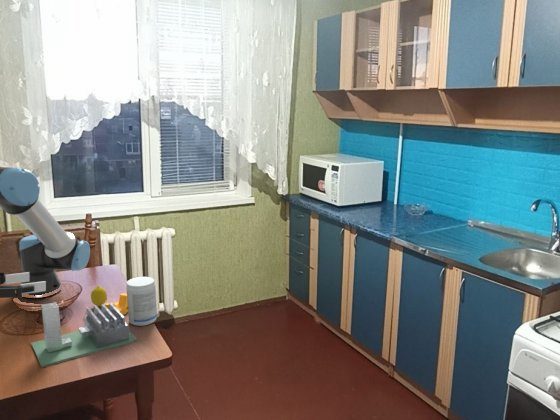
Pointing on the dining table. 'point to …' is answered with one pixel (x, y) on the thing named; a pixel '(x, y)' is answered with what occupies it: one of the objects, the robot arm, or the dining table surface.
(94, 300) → the lemon
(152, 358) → the dining table surface
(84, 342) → the board
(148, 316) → the supplement tub
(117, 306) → the pipe clamp
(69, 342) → the white upright block
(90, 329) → the heatsink
